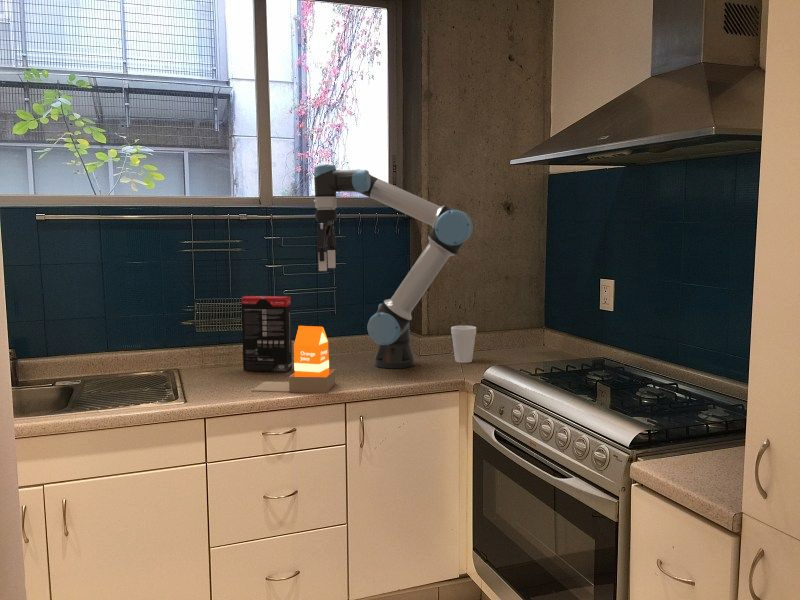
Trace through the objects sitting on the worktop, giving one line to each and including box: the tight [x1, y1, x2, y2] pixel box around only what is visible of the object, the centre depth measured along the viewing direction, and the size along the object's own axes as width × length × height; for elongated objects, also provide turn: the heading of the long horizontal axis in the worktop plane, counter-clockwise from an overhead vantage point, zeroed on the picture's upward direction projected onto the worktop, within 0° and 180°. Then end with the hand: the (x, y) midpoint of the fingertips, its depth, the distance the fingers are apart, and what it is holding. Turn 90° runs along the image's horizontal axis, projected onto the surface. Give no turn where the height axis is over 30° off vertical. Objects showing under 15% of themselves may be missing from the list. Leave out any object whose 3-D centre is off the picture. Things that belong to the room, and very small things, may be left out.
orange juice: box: [293, 325, 330, 377], centre depth 223 cm, size 8×9×20 cm
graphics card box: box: [240, 295, 293, 373], centre depth 251 cm, size 17×7×27 cm, turn 84°
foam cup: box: [450, 325, 477, 364], centre depth 264 cm, size 10×9×13 cm
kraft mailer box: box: [251, 368, 337, 394], centre depth 226 cm, size 25×12×5 cm, turn 82°
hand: (327, 269), depth 247 cm, fingers open, 13 cm apart
